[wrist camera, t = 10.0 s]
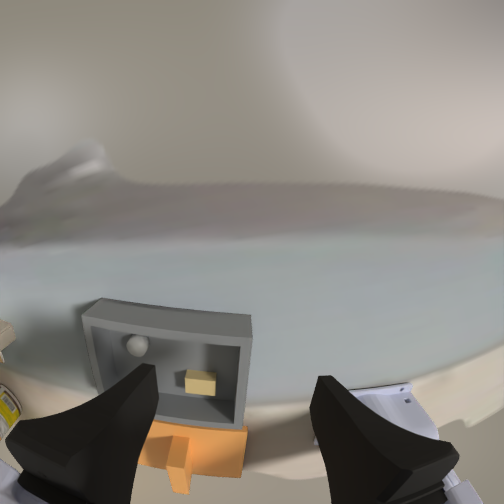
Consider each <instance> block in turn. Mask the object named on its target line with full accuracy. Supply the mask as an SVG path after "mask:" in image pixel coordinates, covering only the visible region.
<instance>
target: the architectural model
mask: <svg viewBox="0 0 504 504" xmlns="http://www.w3.org/2000/svg"><path fill="white" fill-rule="evenodd" d="M15 339H16V336H15V333H14V329H13V326H12V325H11V323H8V322H6V321H3V320H1V319H0V362H1V363H4V362H5V361H4V358H3V355H2V352H1V351H2V350H3V349H4V348H5V347H7V346H8V345H9V344H10V343H12V342H13V341H14V340H15Z"/></svg>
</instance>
